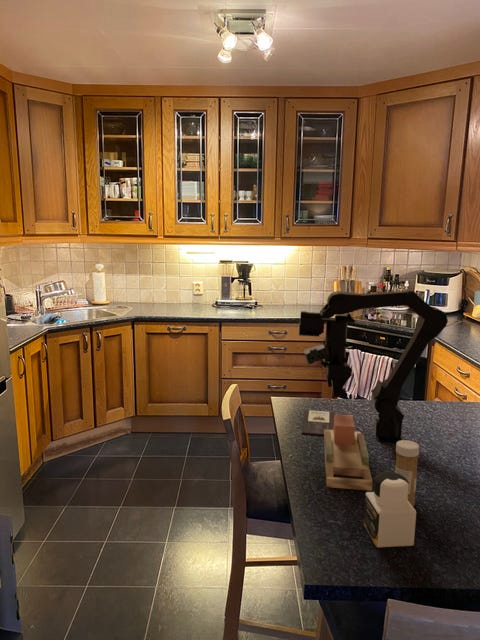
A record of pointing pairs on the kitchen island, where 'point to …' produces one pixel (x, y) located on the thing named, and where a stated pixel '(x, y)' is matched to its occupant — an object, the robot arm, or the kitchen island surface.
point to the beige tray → (347, 463)
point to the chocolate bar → (317, 422)
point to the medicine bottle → (390, 511)
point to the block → (344, 429)
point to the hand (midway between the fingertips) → (332, 391)
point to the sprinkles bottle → (407, 465)
